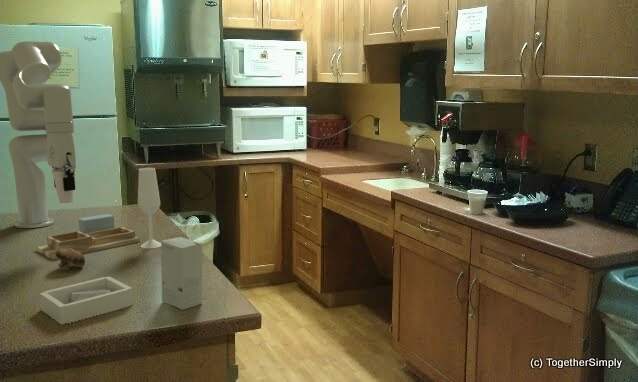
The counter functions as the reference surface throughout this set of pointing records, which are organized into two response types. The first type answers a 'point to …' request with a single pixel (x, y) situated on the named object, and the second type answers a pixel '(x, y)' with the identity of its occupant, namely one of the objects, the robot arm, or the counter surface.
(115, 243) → the tray
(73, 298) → the soap bar
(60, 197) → the smoothie
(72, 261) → the mushroom
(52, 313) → the soap dish rim
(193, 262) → the skincare box
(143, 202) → the champagne flute
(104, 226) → the pale grey block
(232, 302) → the counter surface
